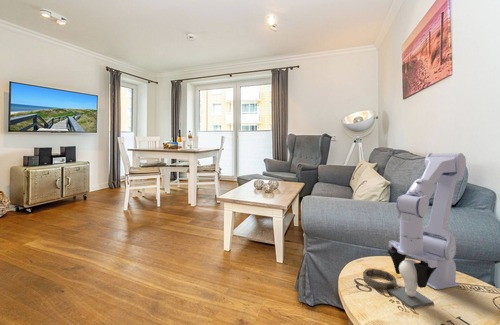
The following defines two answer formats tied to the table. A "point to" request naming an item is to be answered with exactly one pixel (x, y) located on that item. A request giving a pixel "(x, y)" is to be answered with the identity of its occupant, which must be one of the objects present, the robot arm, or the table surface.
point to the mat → (410, 298)
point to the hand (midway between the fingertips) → (410, 279)
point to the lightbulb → (409, 276)
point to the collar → (379, 284)
